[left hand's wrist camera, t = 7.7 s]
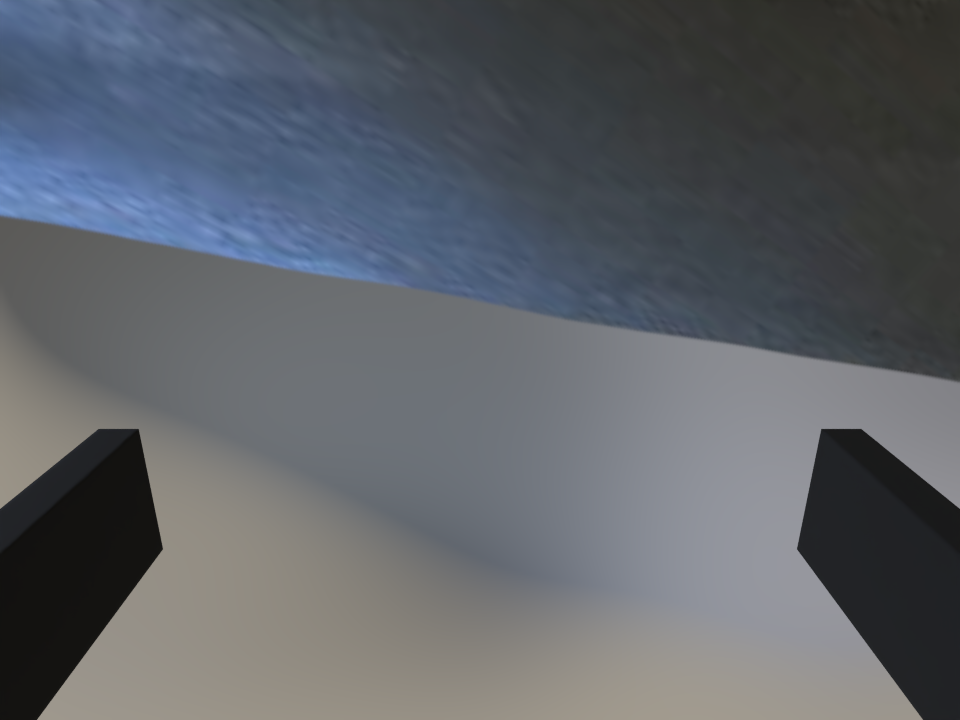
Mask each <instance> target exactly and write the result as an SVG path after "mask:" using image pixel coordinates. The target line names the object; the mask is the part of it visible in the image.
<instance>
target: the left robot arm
mask: <svg viewBox="0 0 960 720" xmlns="http://www.w3.org/2000/svg"><path fill="white" fill-rule="evenodd" d="M162 550H163V547H162V542H161V537H160V532H159V527H158V522H157V518H156V513H155V508H154V503H153V498H152V493H151V488H150V483H149V478H148V473H147V468H146V463H145V458H144V453H143V448H142V443H141V439H140V434H139V429H98V430H97V431H96V432H95V433H93V434H92V435H91V436H90V437H88V438H87V439H86V440H85V441H83V442H82V443H81V444H80V445H78V446H77V447H76V448H75V449H74V450H72V451H71V452H70V453H69V454H67V455H66V456H65V457H64V458H62V459H61V460H60V461H59V462H58V463H56V464H55V465H54V466H53V467H51V468H50V469H49V470H48V471H46V472H45V473H44V474H43V475H42V476H40V477H39V478H38V479H37V480H35V481H34V482H33V483H32V484H30V485H29V486H28V487H27V488H25V489H24V490H23V491H22V492H21V493H19V494H18V495H17V496H16V497H14V498H13V499H12V500H11V501H9V502H8V503H7V504H6V505H5V506H3V507H2V508H1V509H0V720H37V719H38V717H39V716H40V715H41V713H42V712H43V711H44V709H45V708H46V707H47V705H48V704H49V703H50V701H51V700H52V699H53V697H54V696H55V694H56V693H57V692H58V690H59V689H60V688H61V686H62V685H63V684H64V682H65V681H66V680H67V678H68V677H69V675H70V674H71V673H72V671H73V670H74V669H75V667H76V666H77V665H78V663H79V662H80V661H81V659H82V658H83V656H84V655H85V654H86V653H87V651H88V650H89V648H90V647H91V646H92V644H93V643H94V642H95V640H96V639H97V638H98V636H99V635H100V634H101V632H102V631H103V629H104V628H105V627H106V625H107V624H108V623H109V621H110V620H111V619H112V617H113V616H114V615H115V613H116V612H117V611H118V609H119V608H120V607H121V605H122V604H123V602H124V601H125V600H126V598H127V597H128V596H129V594H130V593H131V592H132V590H133V589H134V588H135V586H136V585H137V583H138V582H139V581H140V579H141V578H142V577H143V575H144V574H145V573H146V571H147V570H148V569H149V567H150V566H151V565H152V563H153V562H154V560H155V559H156V558H157V556H158V555H159V554H160V552H161V551H162ZM797 550H798V551H799V552H800V554H801V555H802V556H803V558H804V559H805V560H806V562H807V563H808V565H809V566H810V567H811V569H812V570H813V571H814V573H815V574H816V575H817V577H818V578H819V579H820V581H821V582H822V583H823V585H824V586H825V587H826V589H827V590H828V592H829V593H830V594H831V596H832V597H833V598H834V600H835V601H836V602H837V604H838V605H839V606H840V608H841V609H842V610H843V612H844V613H845V615H846V616H847V617H848V619H849V620H850V621H851V623H852V624H853V625H854V627H855V628H856V630H857V631H858V632H859V634H860V635H861V636H862V638H863V639H864V640H865V642H866V643H867V644H868V646H869V647H870V648H871V650H872V651H873V653H874V654H875V655H876V657H877V658H878V659H879V661H880V662H881V663H882V665H883V666H884V667H885V669H886V670H887V671H888V673H889V674H890V676H891V677H892V678H893V680H894V681H895V682H896V684H897V685H898V686H899V688H900V689H901V690H902V692H903V693H904V695H905V696H906V697H907V698H908V700H909V701H910V703H911V704H912V705H913V707H914V708H915V709H916V711H917V712H918V713H919V715H920V716H921V717H922V719H923V720H960V509H959V508H958V507H957V506H955V505H954V504H953V503H952V502H951V501H949V500H948V499H947V498H946V497H944V496H943V495H942V494H941V493H939V492H938V491H937V490H936V489H935V488H933V487H932V486H931V485H930V484H928V483H927V482H926V481H925V480H923V479H922V478H921V477H920V476H918V475H917V474H916V473H915V472H914V471H912V470H911V469H910V468H909V467H907V466H906V465H905V464H904V463H902V462H901V461H900V460H899V459H897V458H896V457H895V456H894V455H893V454H891V453H890V452H889V451H888V450H886V449H885V448H884V447H883V446H882V445H880V444H879V443H878V442H877V441H875V440H874V439H873V438H872V437H870V436H869V435H868V434H867V433H865V432H864V431H863V430H862V429H821V434H820V439H819V444H818V449H817V453H816V458H815V464H814V469H813V473H812V478H811V483H810V488H809V493H808V498H807V503H806V508H805V513H804V518H803V522H802V527H801V532H800V537H799V542H798V547H797Z"/></svg>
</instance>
